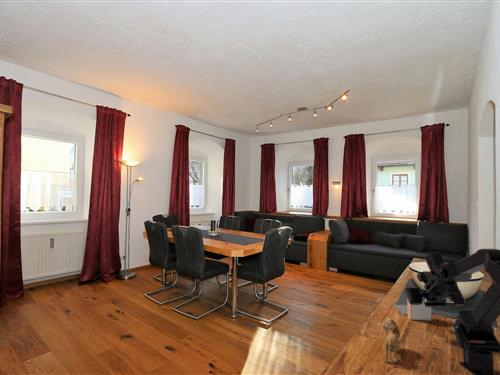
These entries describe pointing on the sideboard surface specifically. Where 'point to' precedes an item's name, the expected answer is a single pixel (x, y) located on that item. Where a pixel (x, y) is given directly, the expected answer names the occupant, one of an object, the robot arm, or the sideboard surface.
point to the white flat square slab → (402, 309)
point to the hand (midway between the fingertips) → (426, 305)
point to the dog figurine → (391, 339)
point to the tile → (419, 312)
